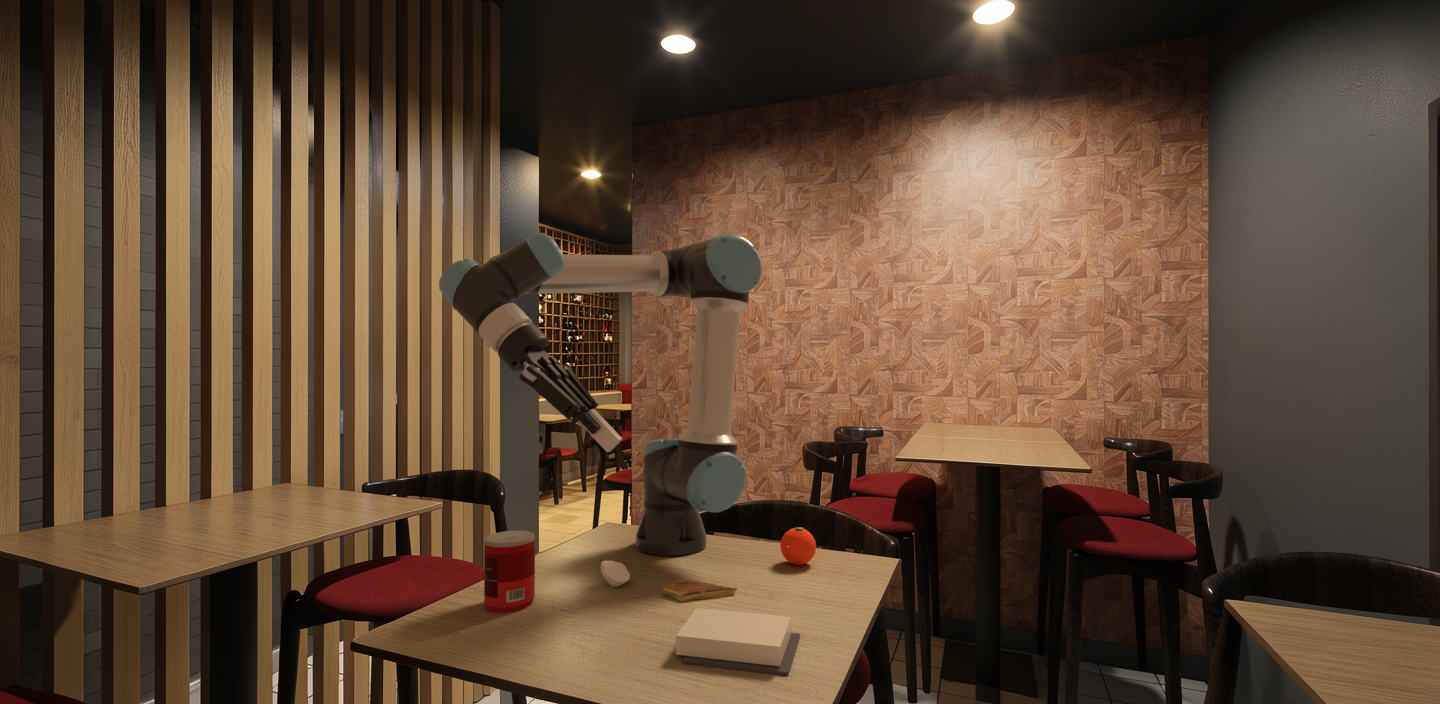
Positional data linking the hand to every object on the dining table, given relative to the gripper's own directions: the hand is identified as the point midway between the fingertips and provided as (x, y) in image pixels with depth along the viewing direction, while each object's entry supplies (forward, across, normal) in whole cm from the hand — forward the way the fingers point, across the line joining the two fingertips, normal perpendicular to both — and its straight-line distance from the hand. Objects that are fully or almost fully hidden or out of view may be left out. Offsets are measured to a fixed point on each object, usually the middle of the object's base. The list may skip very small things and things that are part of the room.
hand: (614, 445), depth 99 cm
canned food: (+5, -2, -33) cm, 33 cm away
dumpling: (+15, -15, -24) cm, 32 cm away
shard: (+26, -15, -14) cm, 33 cm away
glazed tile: (+27, +5, -9) cm, 28 cm away
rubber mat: (+34, +5, -4) cm, 34 cm away
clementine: (+36, -35, -3) cm, 50 cm away
